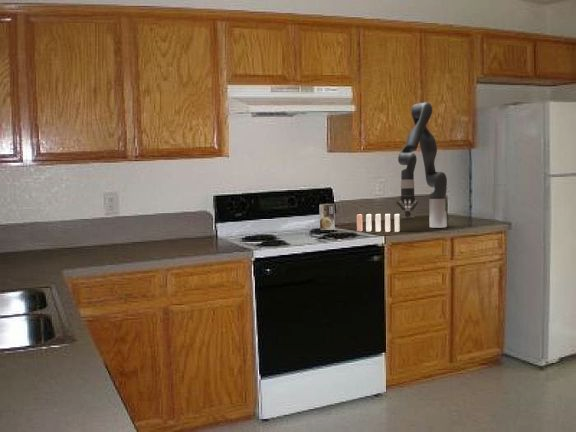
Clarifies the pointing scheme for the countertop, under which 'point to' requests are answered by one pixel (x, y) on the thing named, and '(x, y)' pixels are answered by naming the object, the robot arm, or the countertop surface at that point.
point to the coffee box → (327, 217)
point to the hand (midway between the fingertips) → (407, 217)
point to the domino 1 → (359, 222)
